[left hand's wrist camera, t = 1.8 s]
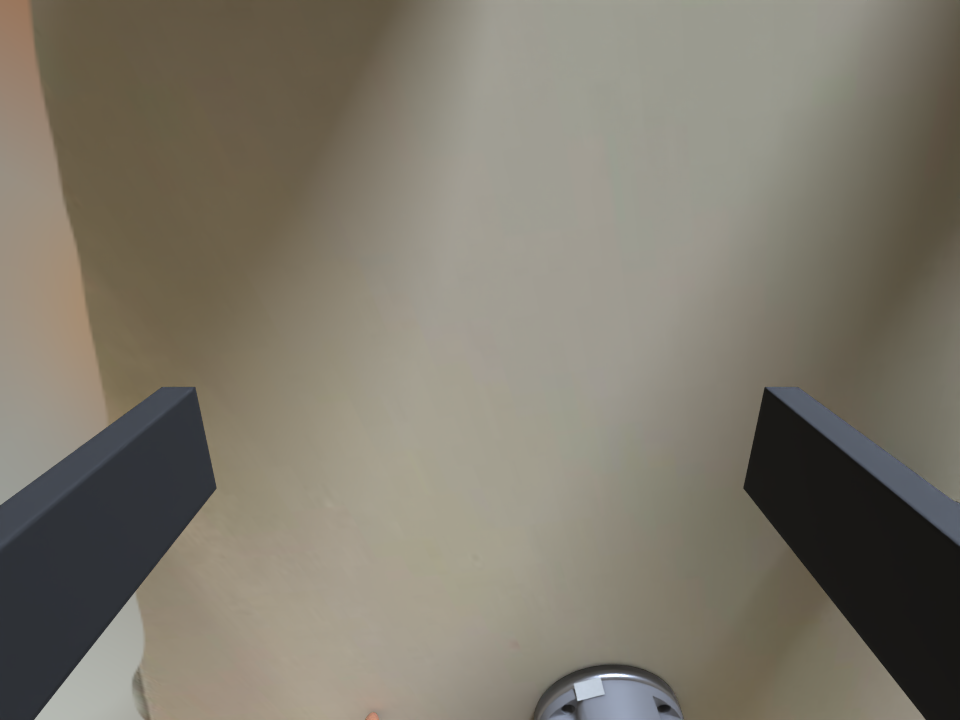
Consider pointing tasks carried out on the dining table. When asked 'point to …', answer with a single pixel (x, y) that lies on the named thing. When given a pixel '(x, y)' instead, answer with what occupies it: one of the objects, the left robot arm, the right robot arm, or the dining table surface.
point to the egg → (372, 716)
